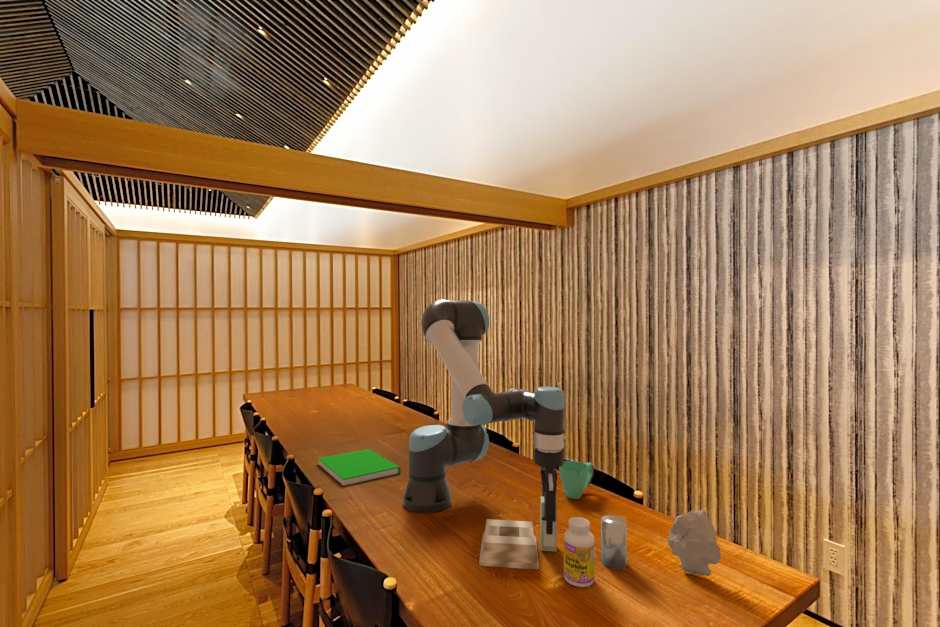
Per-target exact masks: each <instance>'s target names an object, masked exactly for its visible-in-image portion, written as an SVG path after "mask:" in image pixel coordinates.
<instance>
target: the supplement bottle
mask: <svg viewBox="0 0 940 627" xmlns="http://www.w3.org/2000/svg"><path fill="white" fill-rule="evenodd" d="M590 530H591V522H590V520H588V519H587V518H585V517H581V516H573V517H570V518H569V519H568V529H566V531H565V532H564V534H563V578H564V581H566V582H567V583H568V584H569V585H571V586H574V587H577V588H587V587H590V586H591V585H593V584H594V582H595V536H594V535H593V533H592V532H591V531H590Z"/></svg>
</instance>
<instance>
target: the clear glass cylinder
mask: <svg viewBox="0 0 940 627" xmlns="http://www.w3.org/2000/svg"><path fill="white" fill-rule="evenodd" d="M600 523H601V524H600V540H601V541H600V562H601V564H602V565H603V566H604V567H606V568H609V569H611V570H614V571H615V570H617V571H621V570H624V569H626V567H627V563H628V562H627V554H628V553H627V552H628V551H627V550H628V549H627V544H628V542H627V539H628V538H627V535H628V533H627V531H628V527H627V526H628V525H627V520H626V519H625V518H623V517H621V516H617V515H613V514H605V515H603V516H602V517H601V520H600Z"/></svg>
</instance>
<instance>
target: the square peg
mask: <svg viewBox="0 0 940 627" xmlns="http://www.w3.org/2000/svg"><path fill="white" fill-rule="evenodd" d="M539 508H540V511H539V512H540V513H539V514H540V516H539V517H540V519H539V521H540V522H539V523H540V524H539V527H540V528H539V544H540V545H539V546H540V551H541V552H554V553H555V552H557V541H558V540H557V539H558V538H557V530H558V528H557V526H558V525H557V523H558V519H557V517H558V514H557V513H558V512H557V511H558V503H557V501H556V521H555V547H554V546H544V545H543V527H544V520H542V519H541V517H544V496H542V495H541V496H540V507H539Z"/></svg>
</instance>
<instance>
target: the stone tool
mask: <svg viewBox="0 0 940 627" xmlns="http://www.w3.org/2000/svg"><path fill="white" fill-rule="evenodd" d="M667 542H668V544H667V545H668V546H669V548H670V549H671V552H672V554H673V555H674V556H678V558H679V559H680V562H681V564H680V568H681V569H682V570H683V571H684V572H685V573H689V574H691V575H692V576H694V575H696V576H697V575H699V576H701V577H703V576H705V577H709V576H711V575H712V570H711V569H710V567H709V564H711V565H717V564H718V563H719V562H720V560H721V558H722V555H721V553H722V551H721V547H720V545H719V544H717V543H718V542H717V531H716V529H715V527H714V525H713V524H712V522H711V520H710V518H709V516H708V513H707V512H706V510H704V509H700V510H695V509H692V510H691V511H688V512H687V513H684V514H681V515H677V516H676V517H675V519H674V521H673V523H672V526H671V527H670V530H669V534H668V536H667Z"/></svg>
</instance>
